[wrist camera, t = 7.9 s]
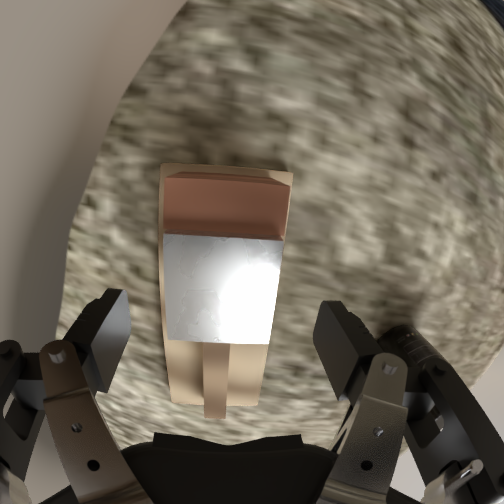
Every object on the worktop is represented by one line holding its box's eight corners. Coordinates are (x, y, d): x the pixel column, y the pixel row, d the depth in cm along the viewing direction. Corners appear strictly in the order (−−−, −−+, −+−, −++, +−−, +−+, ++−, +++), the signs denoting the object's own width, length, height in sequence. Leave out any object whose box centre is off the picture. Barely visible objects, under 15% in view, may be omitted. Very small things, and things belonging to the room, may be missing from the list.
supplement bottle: (404, 363, 28) (451, 428, 17) (360, 372, 28) (404, 450, 16) (423, 319, 26) (485, 382, 15) (378, 325, 25) (440, 405, 14)
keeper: (181, 209, 18) (163, 233, 12) (265, 214, 18) (284, 241, 13) (180, 289, 20) (167, 339, 14) (256, 293, 20) (268, 343, 15)
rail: (165, 162, 18) (135, 166, 12) (288, 171, 19) (320, 180, 13) (173, 392, 26) (166, 444, 19) (255, 395, 27) (264, 446, 20)
